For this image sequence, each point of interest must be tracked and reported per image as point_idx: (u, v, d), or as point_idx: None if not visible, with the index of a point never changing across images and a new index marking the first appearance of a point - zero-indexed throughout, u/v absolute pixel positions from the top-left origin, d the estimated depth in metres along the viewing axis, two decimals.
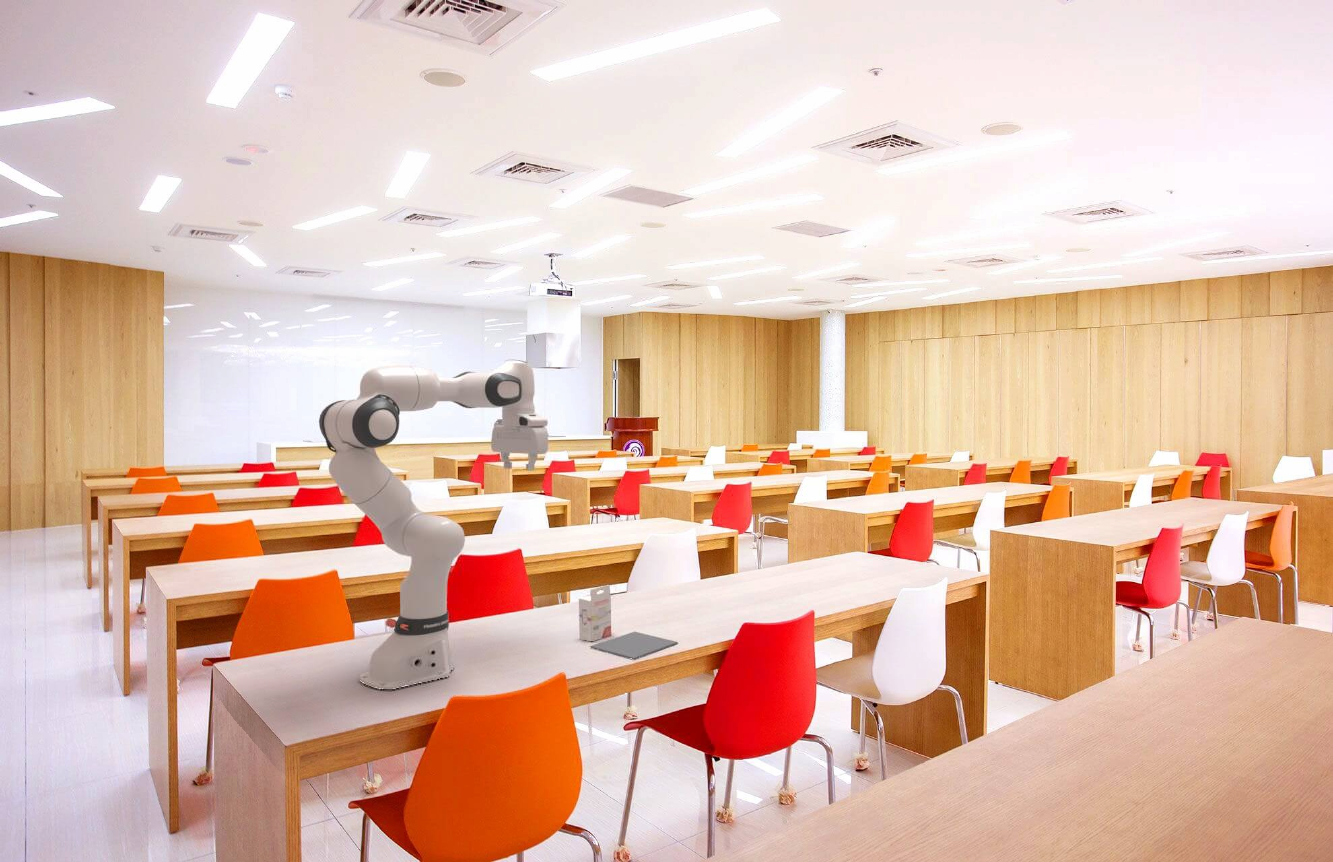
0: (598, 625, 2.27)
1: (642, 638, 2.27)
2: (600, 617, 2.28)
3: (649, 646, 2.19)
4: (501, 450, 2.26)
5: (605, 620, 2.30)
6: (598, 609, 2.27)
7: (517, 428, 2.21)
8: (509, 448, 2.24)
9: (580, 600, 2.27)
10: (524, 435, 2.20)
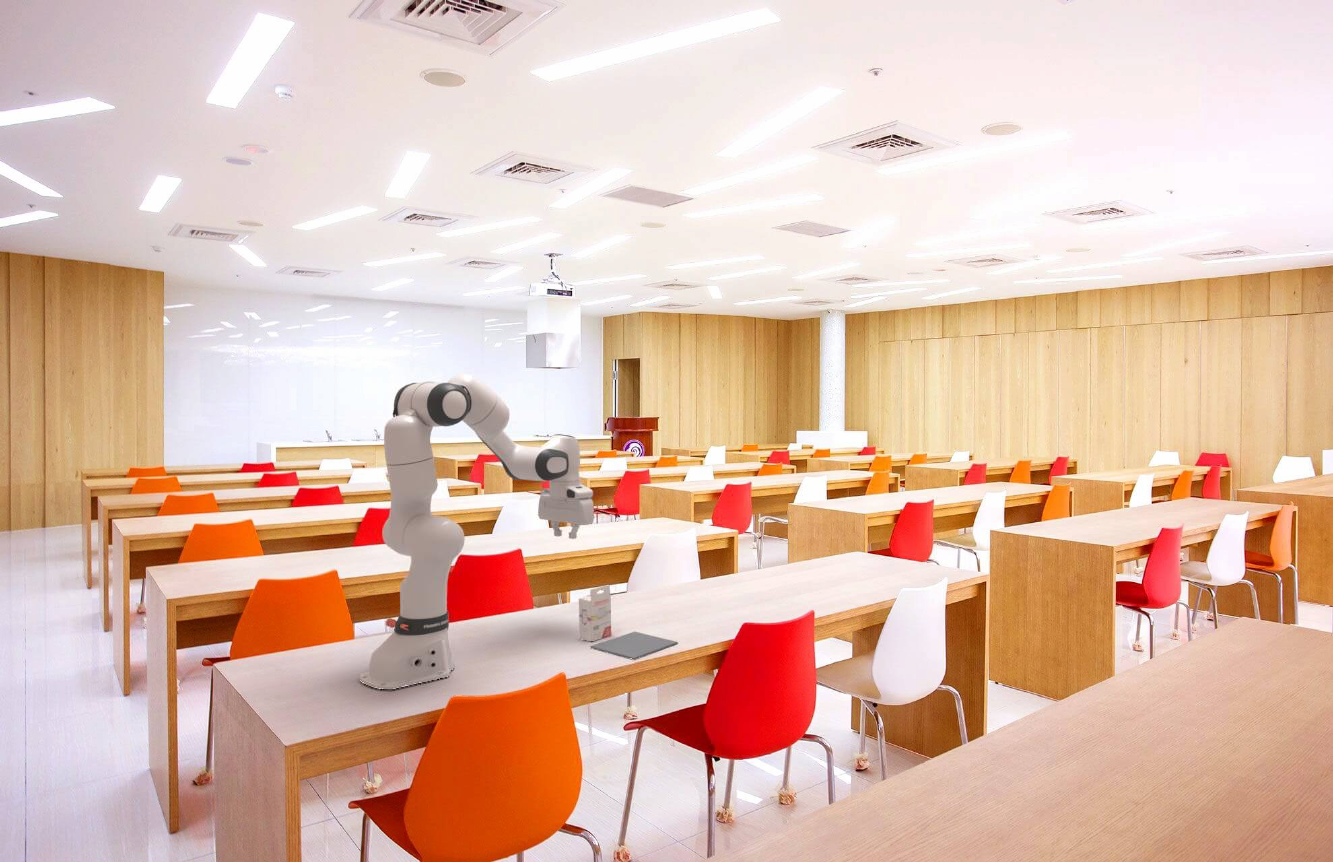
0: (598, 625, 2.27)
1: (642, 638, 2.27)
2: (600, 617, 2.28)
3: (649, 646, 2.19)
4: (548, 518, 2.39)
5: (605, 620, 2.30)
6: (598, 609, 2.27)
7: (564, 499, 2.33)
8: (556, 517, 2.36)
9: (580, 600, 2.27)
10: (571, 506, 2.32)
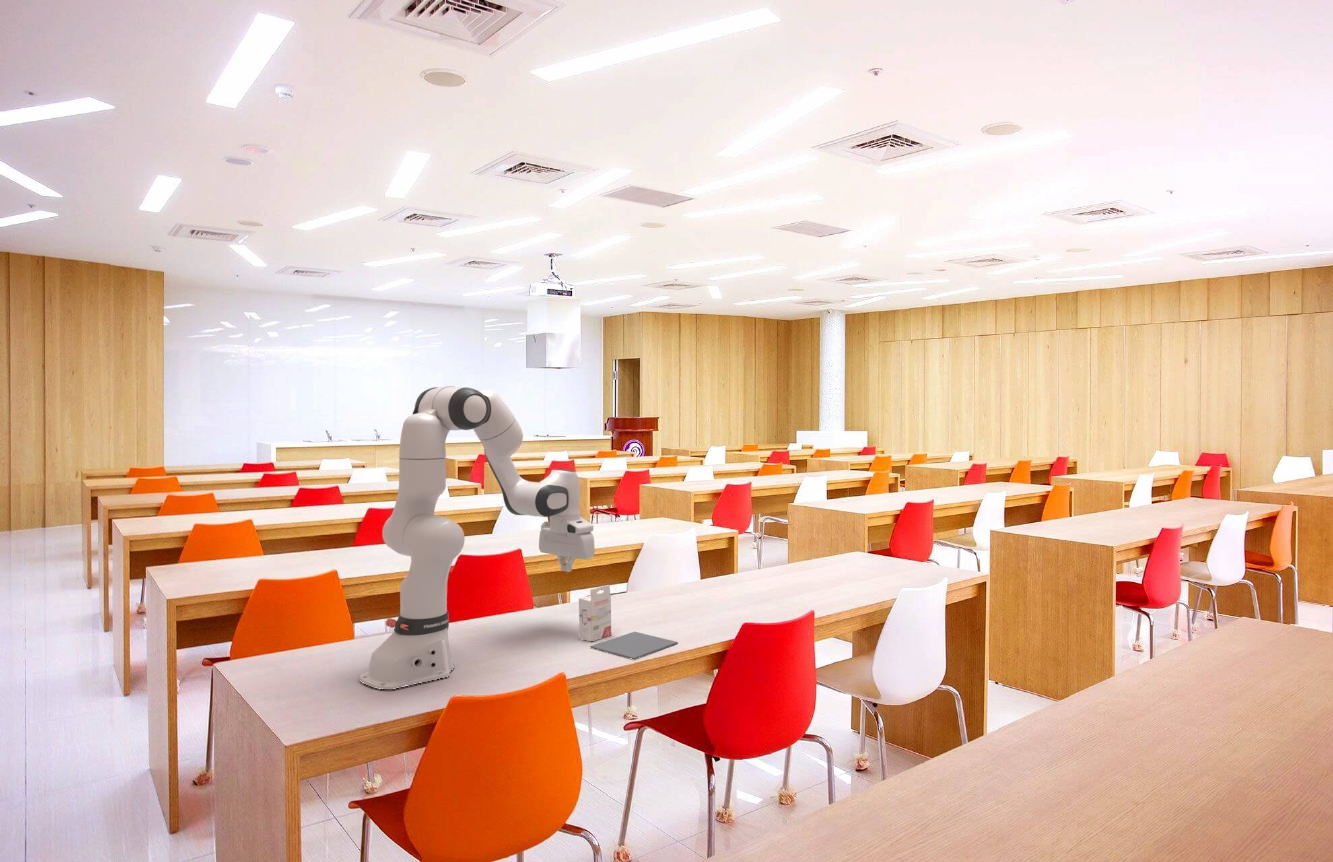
0: (598, 625, 2.27)
1: (642, 638, 2.27)
2: (600, 617, 2.28)
3: (649, 646, 2.19)
4: (549, 552, 2.39)
5: (605, 620, 2.30)
6: (598, 609, 2.27)
7: (565, 534, 2.34)
8: (557, 551, 2.37)
9: (580, 600, 2.27)
10: (572, 541, 2.33)
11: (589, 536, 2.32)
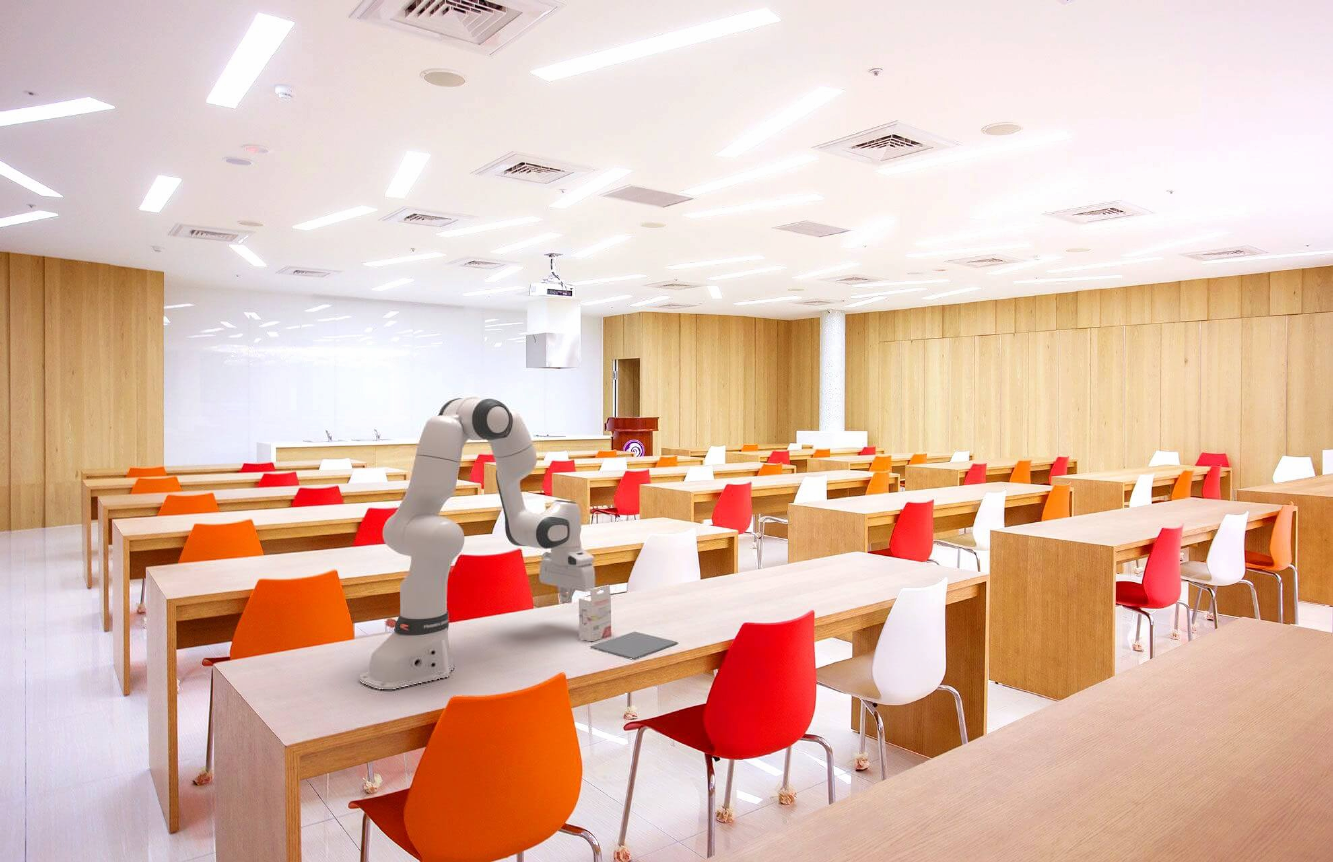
0: (598, 625, 2.27)
1: (642, 638, 2.27)
2: (600, 617, 2.28)
3: (649, 646, 2.19)
4: (549, 583, 2.39)
5: (605, 620, 2.30)
6: (598, 609, 2.27)
7: (565, 565, 2.34)
8: (557, 583, 2.37)
9: (580, 600, 2.27)
10: (572, 572, 2.33)
11: (590, 568, 2.32)
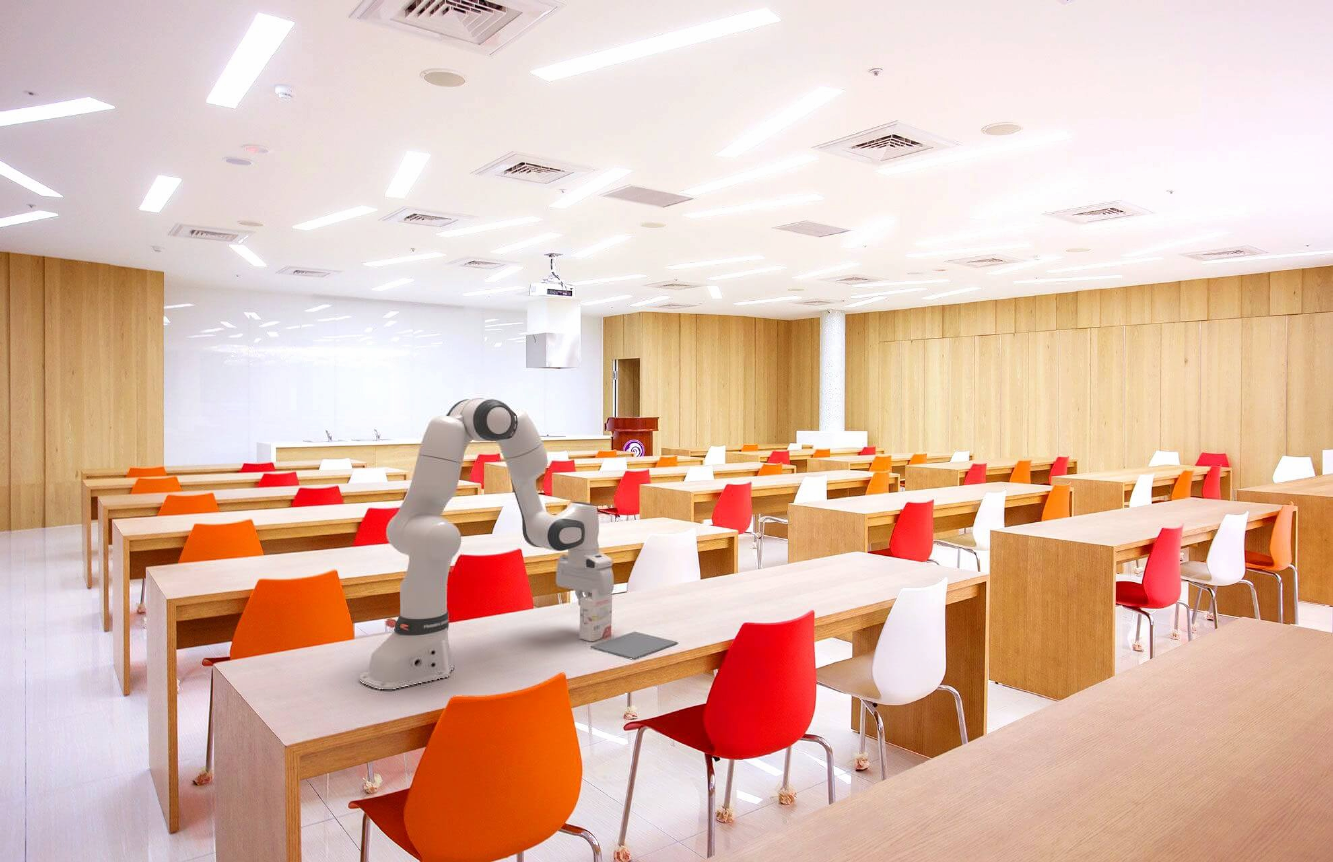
0: (598, 625, 2.27)
1: (642, 638, 2.27)
2: (601, 617, 2.28)
3: (649, 646, 2.19)
4: (566, 586, 2.35)
5: (606, 620, 2.30)
6: (599, 609, 2.27)
7: (583, 568, 2.29)
8: (575, 586, 2.32)
9: (581, 600, 2.27)
10: (590, 576, 2.29)
11: (608, 571, 2.27)
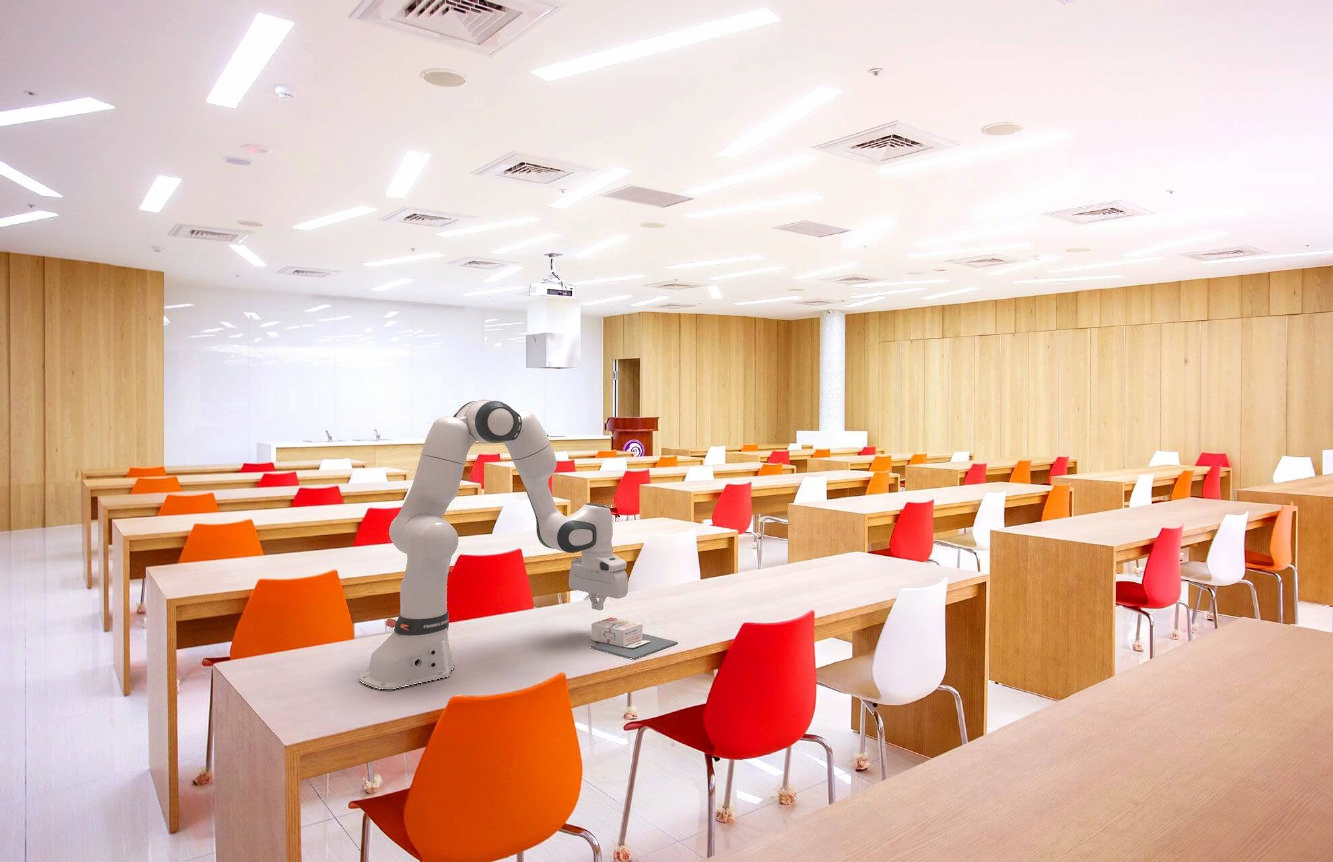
0: None
1: (642, 638, 2.27)
2: None
3: (649, 646, 2.19)
4: (579, 589, 2.31)
5: None
6: None
7: (597, 571, 2.26)
8: (588, 589, 2.29)
9: (622, 632, 2.18)
10: (604, 578, 2.25)
11: (622, 574, 2.24)
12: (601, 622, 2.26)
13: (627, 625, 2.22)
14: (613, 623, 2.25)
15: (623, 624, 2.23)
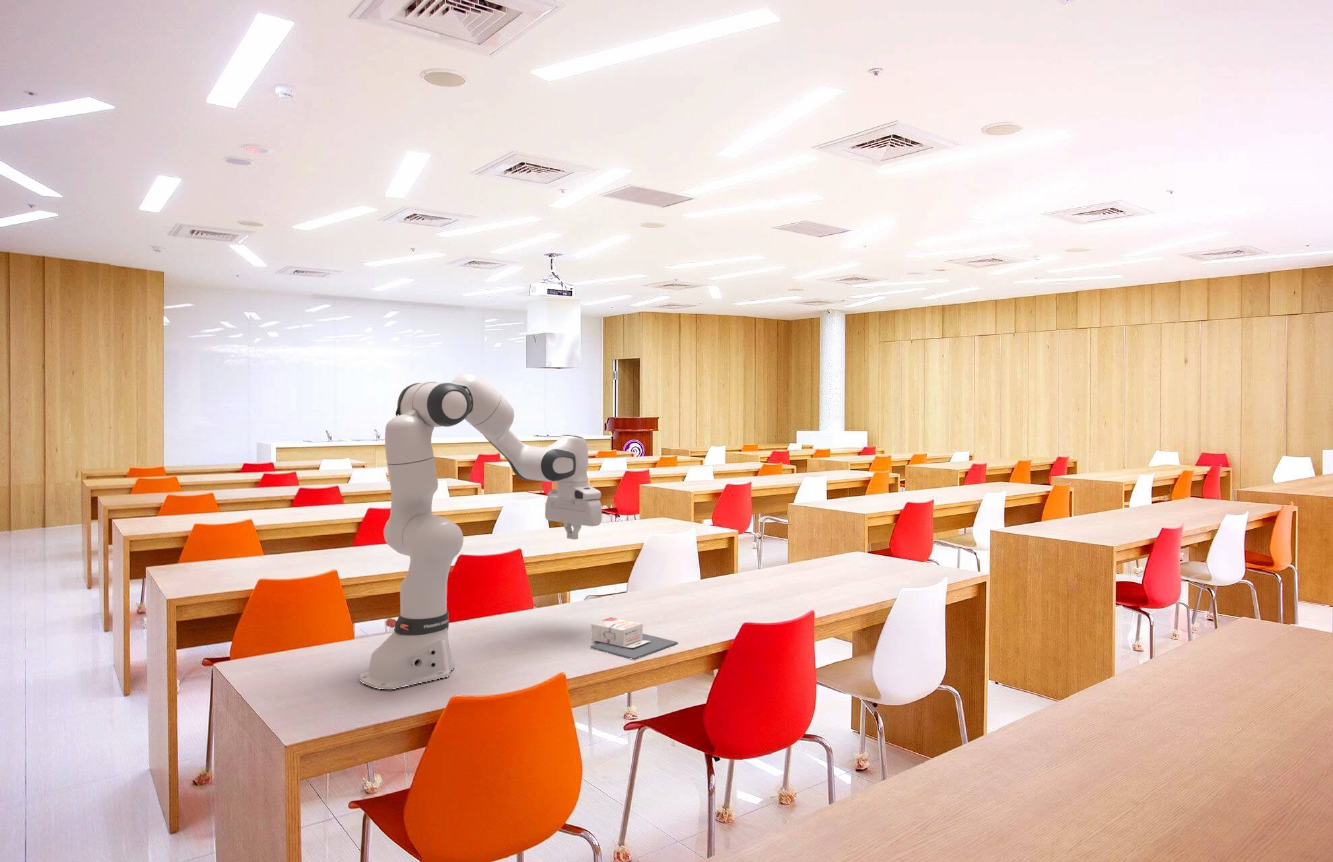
0: None
1: (642, 638, 2.27)
2: None
3: (649, 646, 2.19)
4: (555, 519, 2.37)
5: None
6: None
7: (572, 500, 2.31)
8: (563, 519, 2.34)
9: (622, 632, 2.18)
10: (579, 507, 2.31)
11: (596, 503, 2.29)
12: (601, 622, 2.26)
13: (627, 625, 2.22)
14: (613, 623, 2.25)
15: (623, 624, 2.23)
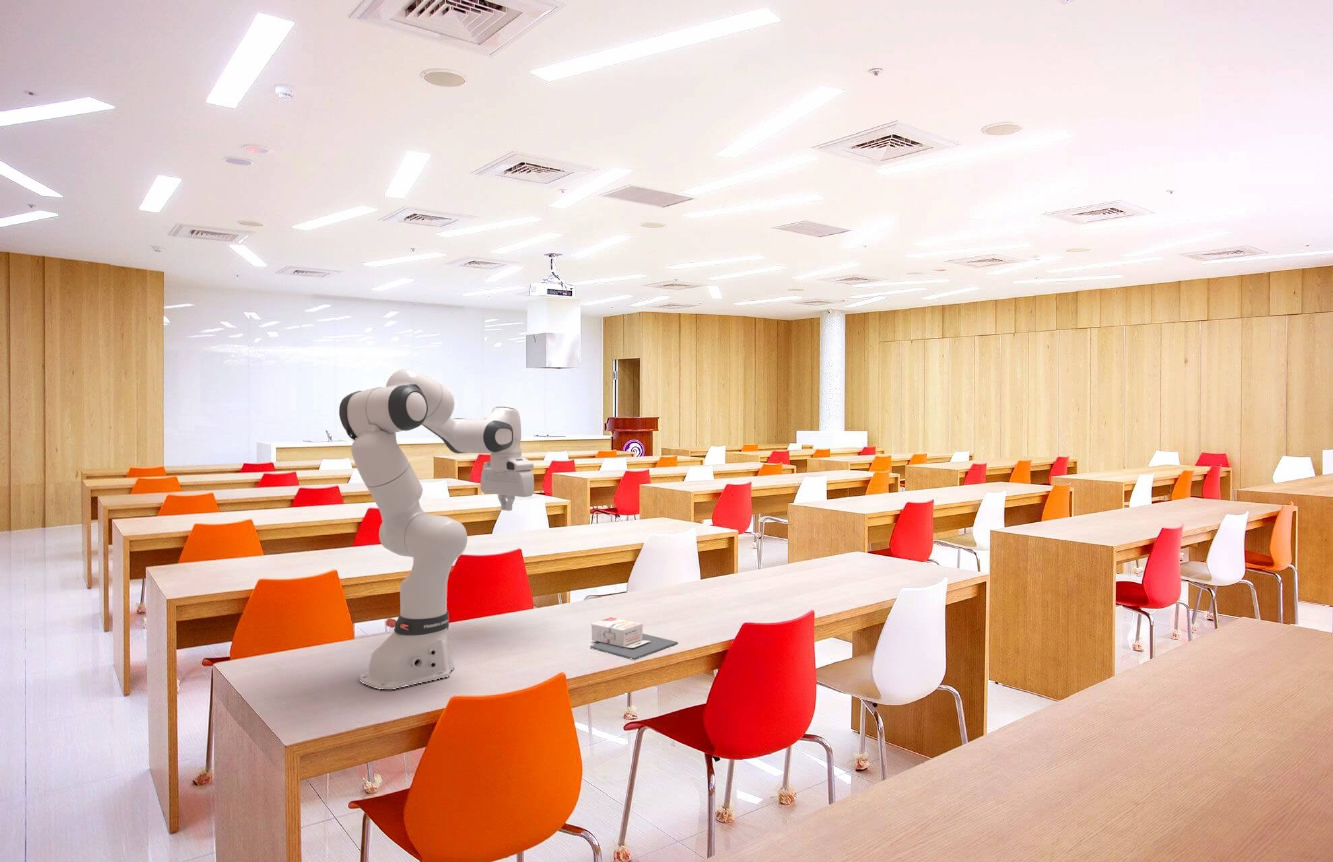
0: None
1: (642, 638, 2.27)
2: None
3: (649, 646, 2.19)
4: (490, 491, 2.38)
5: None
6: None
7: (505, 472, 2.33)
8: (497, 490, 2.36)
9: (622, 632, 2.18)
10: (511, 479, 2.32)
11: (528, 473, 2.31)
12: (601, 622, 2.26)
13: (627, 625, 2.22)
14: (613, 623, 2.25)
15: (623, 624, 2.23)
